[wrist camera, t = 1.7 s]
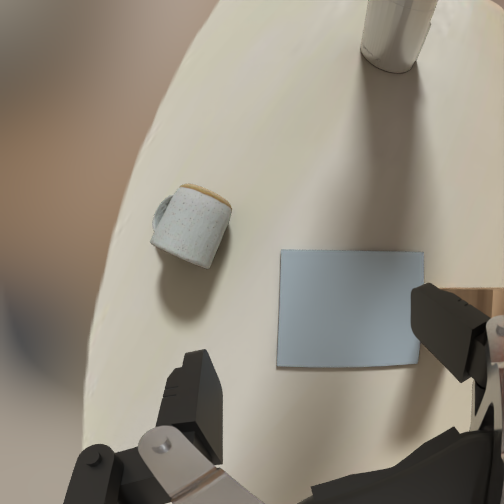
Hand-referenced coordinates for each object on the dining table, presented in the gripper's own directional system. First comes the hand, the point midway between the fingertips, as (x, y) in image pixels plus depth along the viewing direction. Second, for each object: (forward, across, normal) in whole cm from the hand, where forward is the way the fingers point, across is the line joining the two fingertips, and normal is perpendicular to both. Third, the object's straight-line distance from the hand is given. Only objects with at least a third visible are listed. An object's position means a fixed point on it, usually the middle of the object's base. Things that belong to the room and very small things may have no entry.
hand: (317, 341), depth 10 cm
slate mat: (+20, -9, +12) cm, 25 cm away
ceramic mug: (+29, +8, -1) cm, 30 cm away
